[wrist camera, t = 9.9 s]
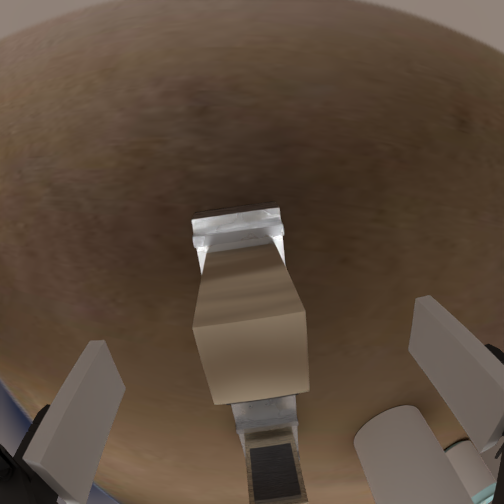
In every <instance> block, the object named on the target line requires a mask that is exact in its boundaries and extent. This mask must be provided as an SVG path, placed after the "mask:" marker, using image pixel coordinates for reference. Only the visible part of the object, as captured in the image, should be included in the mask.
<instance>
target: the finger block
mask: <svg viewBox="0 0 504 504" xmlns="http://www.w3.org/2000/svg"><path fill="white" fill-rule="evenodd" d="M192 329H193V333H194V336H195V340H196V344H197V347H198V351H199V354H200V358H201V361H202V365H203V368H204V372H205V375H206V378H207V382H208V385H209V388H210V392H211V395H212V398H213V401H214V404H215V405H219V404H226V405H231V404H240V403H248V402H255V401H262V400H269V399H275V398H281V397H287V396H293V395H298V393H302V392H307V391H309V367H308V346H307V328H306V311H305V309H304V307H303V304H302V302H301V300H300V298H299V295H298V293H297V291H296V289H295V286H294V284H293V282H292V280H291V278H290V275H289V273H288V271H287V269H286V267H285V264H284V262H283V260H282V258H281V256H280V253H279V251H278V249H277V247H276V245H275V243H271V244H264V245H258V246H251V247H244V248H237V249H231V250H224V251H218V252H211V253H206V257H205V262H204V267H203V272H202V277H201V283H200V288H199V293H198V299H197V304H196V309H195V315H194V320H193V326H192Z"/></svg>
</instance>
